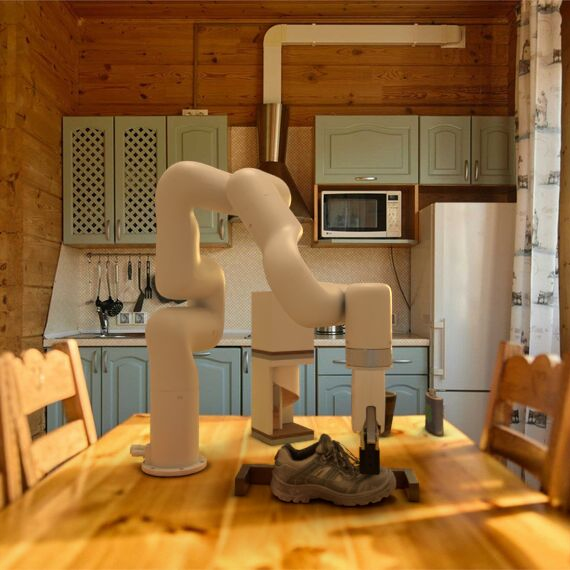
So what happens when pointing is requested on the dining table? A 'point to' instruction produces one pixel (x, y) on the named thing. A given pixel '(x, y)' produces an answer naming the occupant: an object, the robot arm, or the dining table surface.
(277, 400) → the cream pedestal stand
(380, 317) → the robot arm
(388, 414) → the ceramic cup
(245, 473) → the bracket
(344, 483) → the hiking shoe
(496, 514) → the dining table surface
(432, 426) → the flask
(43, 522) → the dining table surface
